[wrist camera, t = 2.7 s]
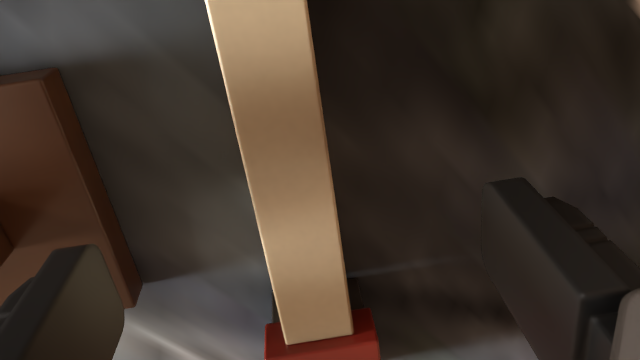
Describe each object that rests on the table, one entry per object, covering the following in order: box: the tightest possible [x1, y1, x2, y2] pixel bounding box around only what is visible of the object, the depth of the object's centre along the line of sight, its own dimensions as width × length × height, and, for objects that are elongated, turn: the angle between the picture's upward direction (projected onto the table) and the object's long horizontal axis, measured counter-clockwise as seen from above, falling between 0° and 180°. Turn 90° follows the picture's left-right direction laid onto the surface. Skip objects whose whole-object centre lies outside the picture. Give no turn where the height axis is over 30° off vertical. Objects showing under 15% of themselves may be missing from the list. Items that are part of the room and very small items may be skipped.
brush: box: [205, 0, 381, 360], centre depth 15 cm, size 20×4×3 cm, turn 8°
